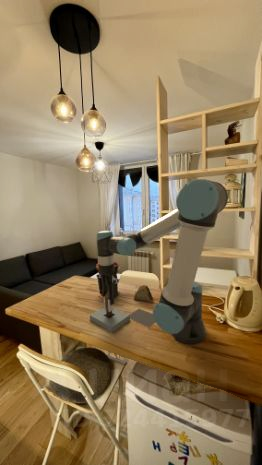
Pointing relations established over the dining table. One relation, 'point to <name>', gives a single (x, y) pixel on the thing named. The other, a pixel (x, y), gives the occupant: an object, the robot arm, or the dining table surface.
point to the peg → (108, 314)
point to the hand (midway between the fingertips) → (108, 309)
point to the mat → (143, 317)
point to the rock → (143, 293)
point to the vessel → (113, 273)
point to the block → (110, 319)
